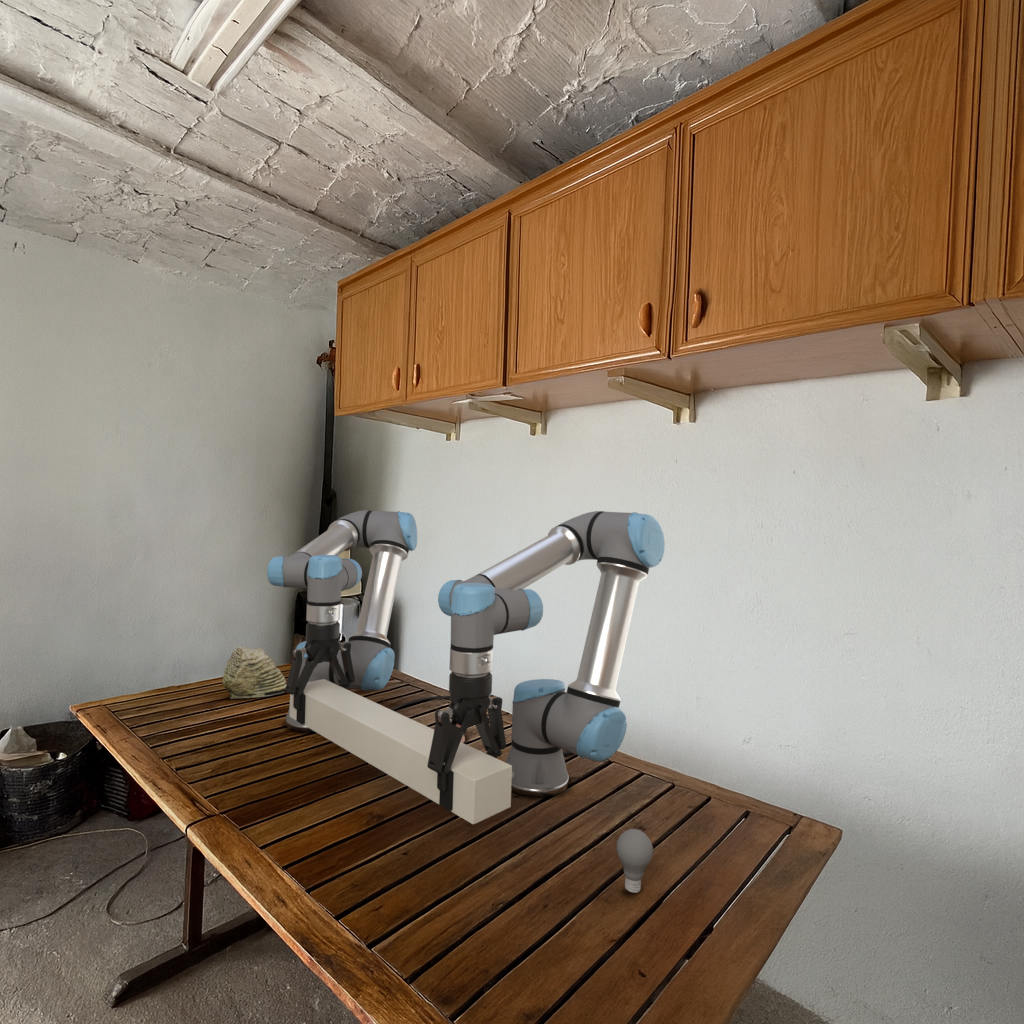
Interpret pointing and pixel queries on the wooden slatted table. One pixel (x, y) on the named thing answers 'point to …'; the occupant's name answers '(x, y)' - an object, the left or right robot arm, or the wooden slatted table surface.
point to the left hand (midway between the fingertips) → (320, 717)
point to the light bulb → (634, 857)
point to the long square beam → (405, 749)
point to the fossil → (252, 674)
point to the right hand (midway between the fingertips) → (467, 798)
